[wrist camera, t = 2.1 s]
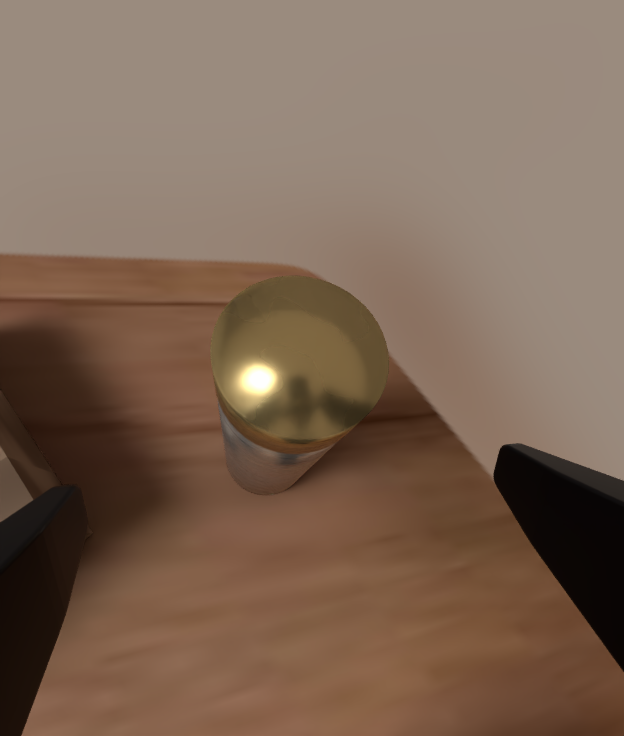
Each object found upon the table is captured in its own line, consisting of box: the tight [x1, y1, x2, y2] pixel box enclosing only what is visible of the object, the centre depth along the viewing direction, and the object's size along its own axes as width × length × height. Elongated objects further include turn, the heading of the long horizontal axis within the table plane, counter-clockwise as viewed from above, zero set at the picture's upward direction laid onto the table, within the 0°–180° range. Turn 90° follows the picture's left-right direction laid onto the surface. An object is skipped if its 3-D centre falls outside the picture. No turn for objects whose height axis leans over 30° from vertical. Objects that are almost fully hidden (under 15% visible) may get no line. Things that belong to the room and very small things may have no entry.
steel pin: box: [211, 276, 389, 495], centre depth 14 cm, size 4×4×12 cm
